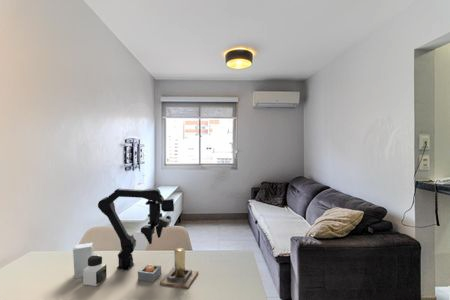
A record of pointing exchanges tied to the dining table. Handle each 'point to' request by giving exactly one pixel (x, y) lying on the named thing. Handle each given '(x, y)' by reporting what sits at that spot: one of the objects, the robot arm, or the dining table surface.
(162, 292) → the dining table surface
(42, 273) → the dining table surface
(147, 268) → the button
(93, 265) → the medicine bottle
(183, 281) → the brown board with frame
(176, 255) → the brass billet
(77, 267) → the skincare box
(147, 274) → the button housing
